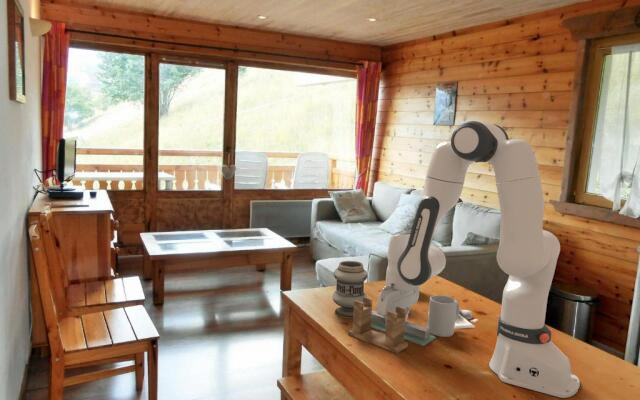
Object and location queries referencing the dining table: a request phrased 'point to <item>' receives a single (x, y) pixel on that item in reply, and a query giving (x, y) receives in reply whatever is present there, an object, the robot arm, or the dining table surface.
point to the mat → (406, 336)
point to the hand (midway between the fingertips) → (396, 322)
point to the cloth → (463, 319)
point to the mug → (442, 315)
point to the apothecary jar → (349, 287)
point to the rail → (409, 328)
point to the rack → (363, 332)
